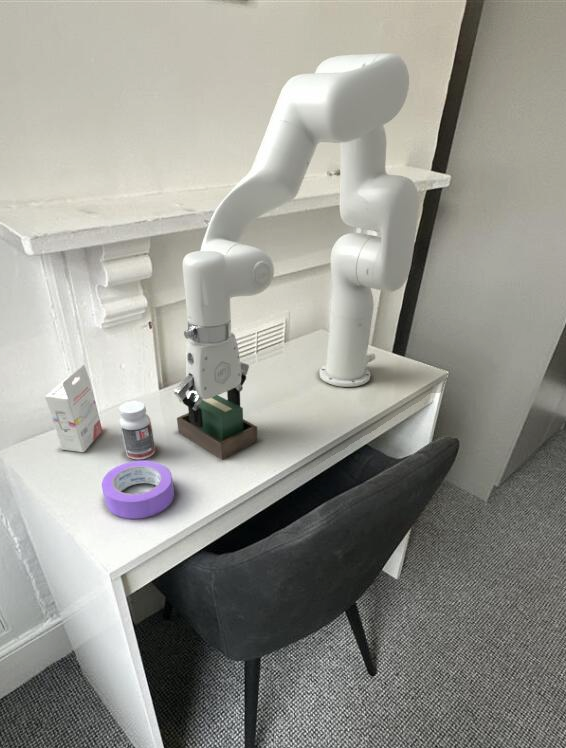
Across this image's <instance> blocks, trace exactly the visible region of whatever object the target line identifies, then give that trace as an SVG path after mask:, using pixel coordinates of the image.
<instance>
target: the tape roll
mask: <svg viewBox="0 0 566 748" xmlns="http://www.w3.org/2000/svg"><path fill="white" fill-rule="evenodd" d="M139 484H140V485H141V484H148V485H153V486H154V487H153V488H152V489H151V488H150V489H149V490H147V491H144V492H140V493H126V492H123V491H124V490H125V489H127V488H129V487H131V486H134V485H139ZM101 490H102V493H103V498H104V501H105V505H106V507H107V509H108V510H109V511H110V512H111V513H112V514H113V515H115V516H117V517H119V518H125V519H131V520H132V519H133V520H134V519H136V520H137V519H144V518H149V517H153V516H155V515H158V514H159V513H161V512H163V511H164V510H166V509H167V508H168V507H169V506H170V505H171V504H172V502H173V500H174V497H175V488H174V482H173V474H172V472H171V470H170V469H169V468H168V467H167V466H166V465H164V464H162V463H159V462H157V461H152V460H134V461H133V460H132V461H128V462H125V463H121V464H119V465H116V466H115V467H113V468H111V469H110V470H109V471H108V472H107V473H106V474H105V475H104V477H103V479H102V480H101Z"/></svg>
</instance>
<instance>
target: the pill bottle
mask: <svg viewBox="0 0 566 748" xmlns="http://www.w3.org/2000/svg"><path fill="white" fill-rule="evenodd" d="M118 409H119V414H120V416H121V417H120V419H119V421H118V422H119V423H118V424H119V427H120V433H121V437H122V442H123V446H124V451H125V454H126V456H127V458H129V459H133V460H136V461H141V460H144V459H149V458H150V457H152V456H153V455H154V454H155V452H156V444H155V439H154V433H153V428H152V427H153V426H152V422H151V418H150V416H149V414H147V409H146V404H145V403H144V402H142V401H139V400H129V401H125V402H124V403H122V404H120V406H119V408H118Z"/></svg>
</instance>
